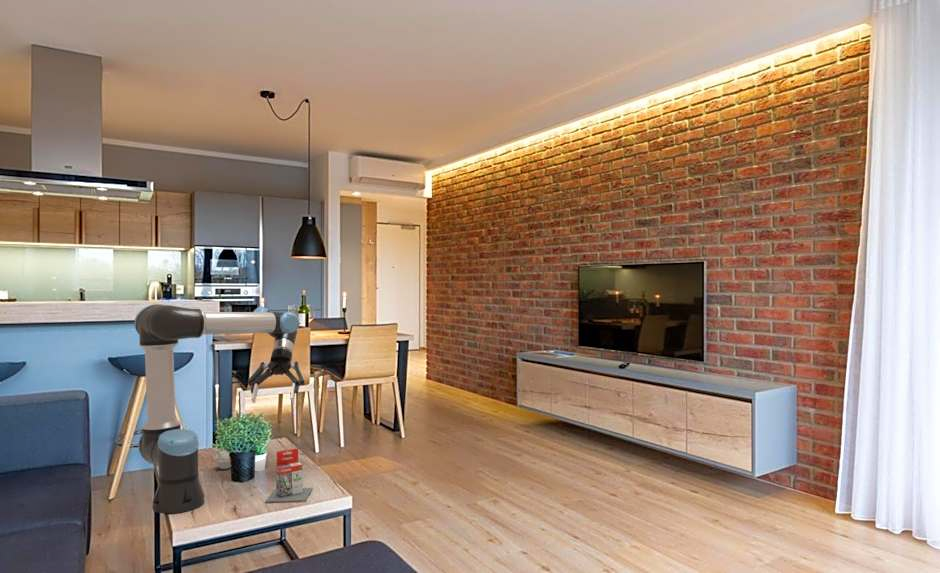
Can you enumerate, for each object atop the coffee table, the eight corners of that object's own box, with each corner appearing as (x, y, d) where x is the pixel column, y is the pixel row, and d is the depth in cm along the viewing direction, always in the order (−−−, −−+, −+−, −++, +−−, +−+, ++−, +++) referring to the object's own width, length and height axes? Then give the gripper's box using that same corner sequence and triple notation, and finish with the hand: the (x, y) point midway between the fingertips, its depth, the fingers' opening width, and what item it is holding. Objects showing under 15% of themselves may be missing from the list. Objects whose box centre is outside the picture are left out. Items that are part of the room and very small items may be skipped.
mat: (265, 503, 197) (265, 501, 197) (274, 490, 209) (274, 488, 209) (305, 501, 198) (305, 500, 198) (312, 489, 210) (312, 487, 210)
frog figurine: (220, 466, 237) (219, 448, 237) (237, 466, 236) (236, 449, 236) (211, 471, 231) (211, 453, 231) (229, 471, 230) (229, 453, 230)
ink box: (302, 493, 204) (302, 450, 204) (279, 498, 200) (279, 454, 200) (299, 490, 207) (298, 447, 207) (275, 495, 203) (275, 451, 203)
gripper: (316, 359, 235) (309, 405, 220) (251, 360, 233) (239, 406, 219) (313, 347, 230) (306, 393, 215) (246, 347, 228) (234, 395, 213)
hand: (272, 400), depth 217 cm, fingers open, 13 cm apart
